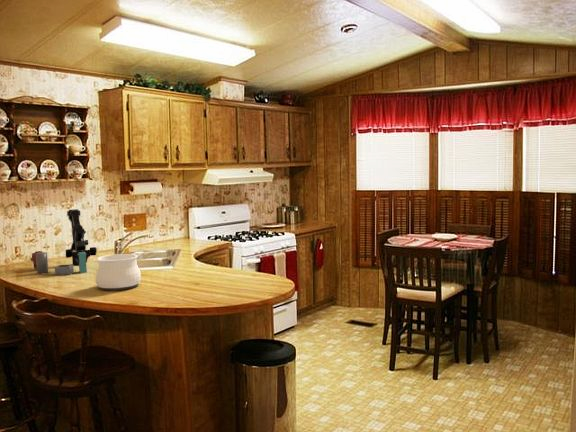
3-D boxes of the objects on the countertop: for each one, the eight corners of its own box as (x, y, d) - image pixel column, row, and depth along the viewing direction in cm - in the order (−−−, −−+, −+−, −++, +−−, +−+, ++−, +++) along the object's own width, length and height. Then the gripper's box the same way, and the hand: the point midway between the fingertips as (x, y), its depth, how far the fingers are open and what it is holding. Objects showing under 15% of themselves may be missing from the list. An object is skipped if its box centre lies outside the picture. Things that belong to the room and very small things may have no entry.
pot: (128, 279, 316) (126, 250, 314) (153, 284, 300) (151, 254, 299) (84, 288, 294) (82, 257, 292) (108, 294, 279) (106, 262, 277)
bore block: (59, 272, 342) (58, 264, 342) (73, 271, 343) (73, 264, 343) (55, 275, 333) (54, 267, 333) (69, 274, 335) (69, 266, 334)
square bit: (79, 272, 342) (78, 252, 341) (85, 271, 344) (84, 251, 343) (80, 273, 338) (78, 253, 337) (86, 272, 340) (85, 252, 339)
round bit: (41, 271, 346) (40, 252, 345) (50, 272, 344) (49, 252, 343) (34, 273, 339) (33, 253, 338) (43, 274, 338) (42, 254, 337)
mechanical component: (33, 271, 347) (29, 269, 355) (49, 269, 353) (45, 267, 361) (32, 253, 346) (28, 251, 354) (48, 251, 352) (44, 249, 360)
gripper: (64, 237, 338) (67, 256, 329) (95, 234, 347) (98, 253, 338) (64, 247, 346) (67, 267, 337) (94, 245, 354) (97, 264, 346)
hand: (82, 262), depth 339 cm, fingers closed on square bit, 4 cm apart
